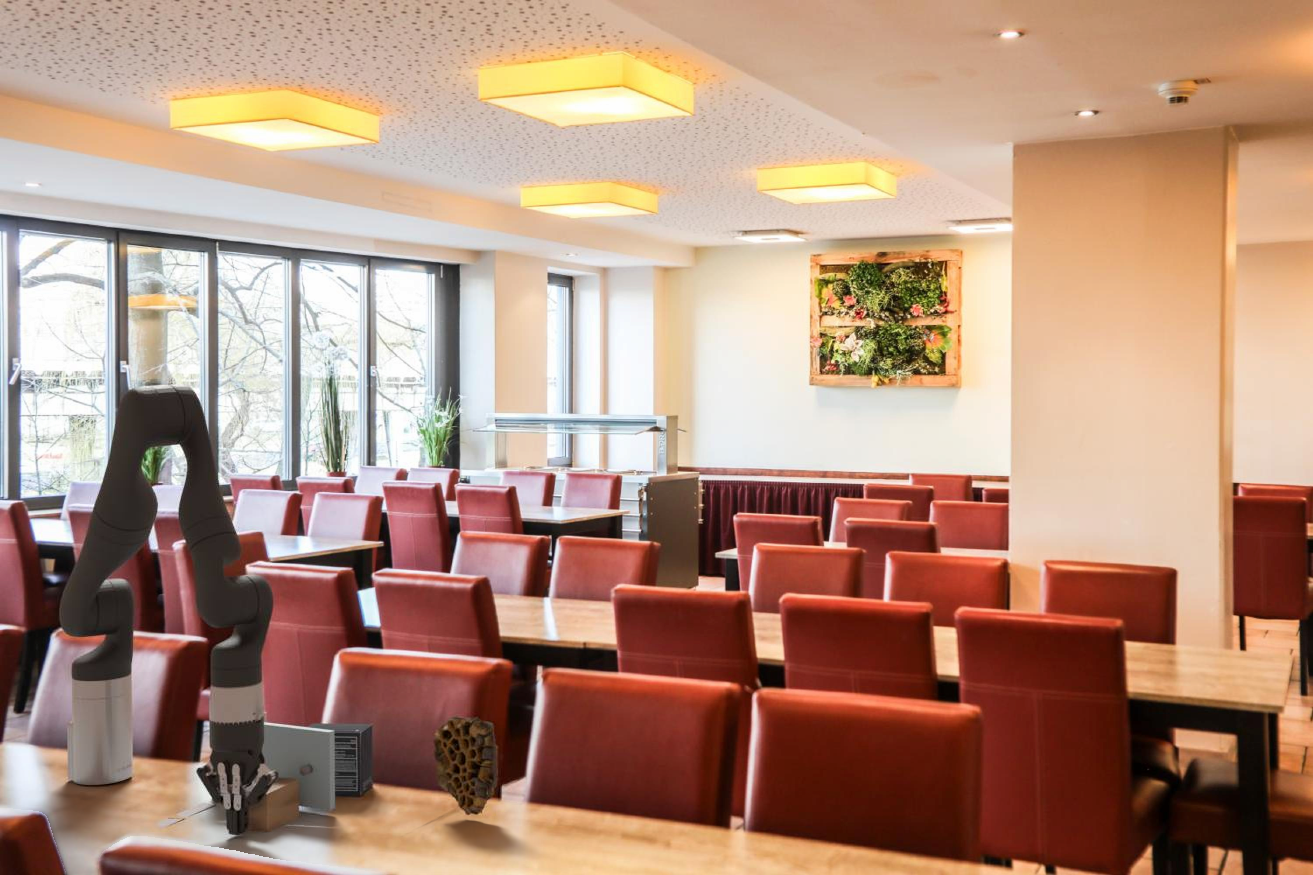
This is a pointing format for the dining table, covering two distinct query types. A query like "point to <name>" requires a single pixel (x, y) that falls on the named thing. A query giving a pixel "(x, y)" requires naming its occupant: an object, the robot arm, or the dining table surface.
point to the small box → (351, 757)
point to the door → (303, 761)
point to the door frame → (194, 809)
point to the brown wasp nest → (467, 761)
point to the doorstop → (275, 806)
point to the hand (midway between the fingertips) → (237, 833)
